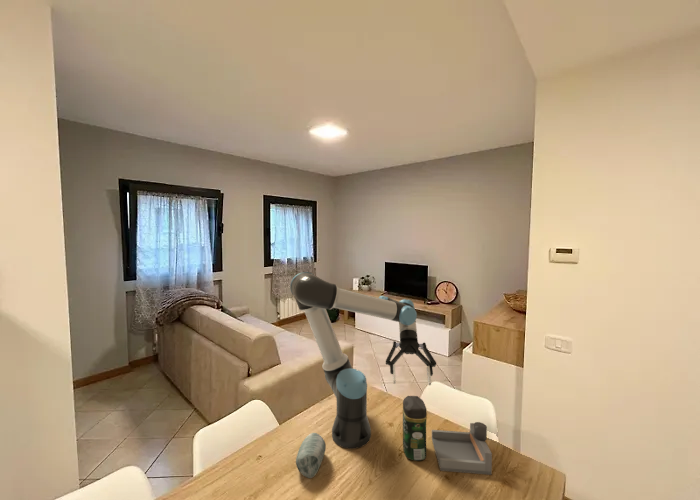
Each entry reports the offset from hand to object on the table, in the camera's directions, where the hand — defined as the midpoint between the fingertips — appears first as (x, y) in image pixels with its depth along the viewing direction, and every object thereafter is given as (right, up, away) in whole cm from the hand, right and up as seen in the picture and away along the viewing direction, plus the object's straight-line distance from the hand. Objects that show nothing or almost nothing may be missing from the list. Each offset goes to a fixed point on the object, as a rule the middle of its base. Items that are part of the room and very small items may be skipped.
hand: (412, 383), depth 110 cm
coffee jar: (-1, -20, -10) cm, 22 cm away
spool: (-37, -20, -16) cm, 45 cm away
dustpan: (+14, -20, -11) cm, 27 cm away
